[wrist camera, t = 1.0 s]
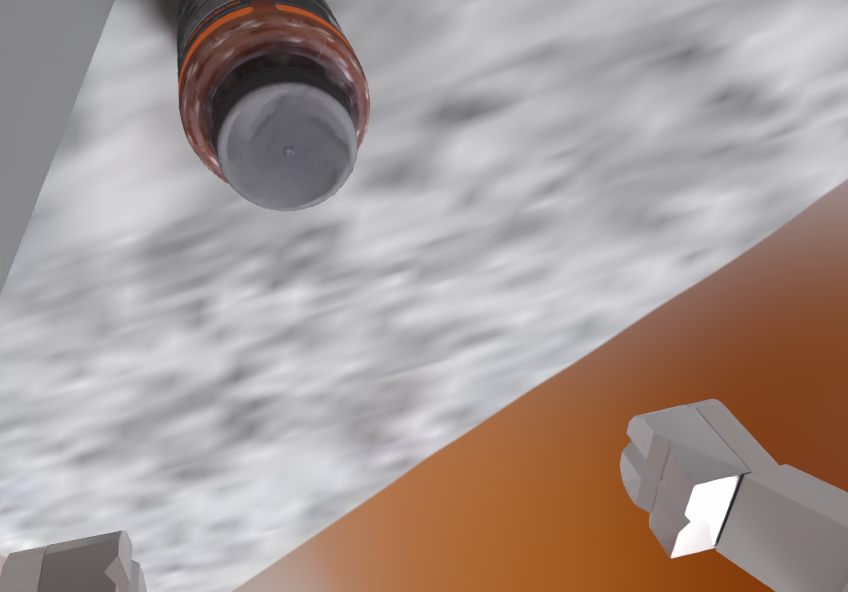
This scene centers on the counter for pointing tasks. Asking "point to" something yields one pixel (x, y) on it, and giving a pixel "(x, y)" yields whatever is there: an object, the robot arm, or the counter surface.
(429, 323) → the counter surface
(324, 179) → the supplement bottle
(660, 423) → the robot arm
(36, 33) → the build board
